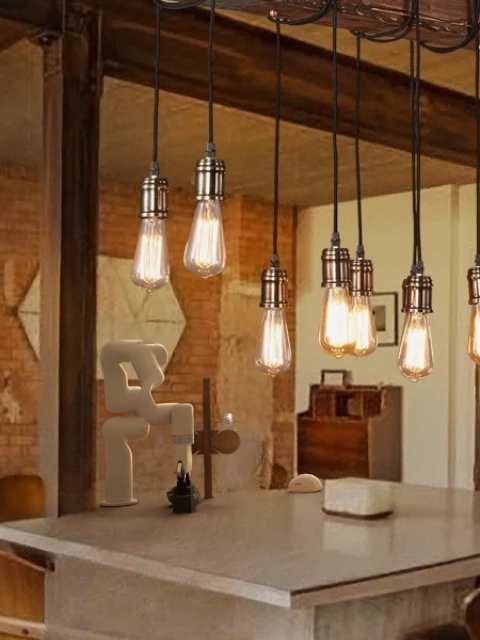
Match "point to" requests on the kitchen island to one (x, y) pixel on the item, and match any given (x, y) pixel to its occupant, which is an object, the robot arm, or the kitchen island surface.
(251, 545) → the kitchen island surface
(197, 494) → the rock
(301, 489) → the computer mouse
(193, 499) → the pad
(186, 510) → the pad base
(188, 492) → the pad
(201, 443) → the brown flat cross piece
